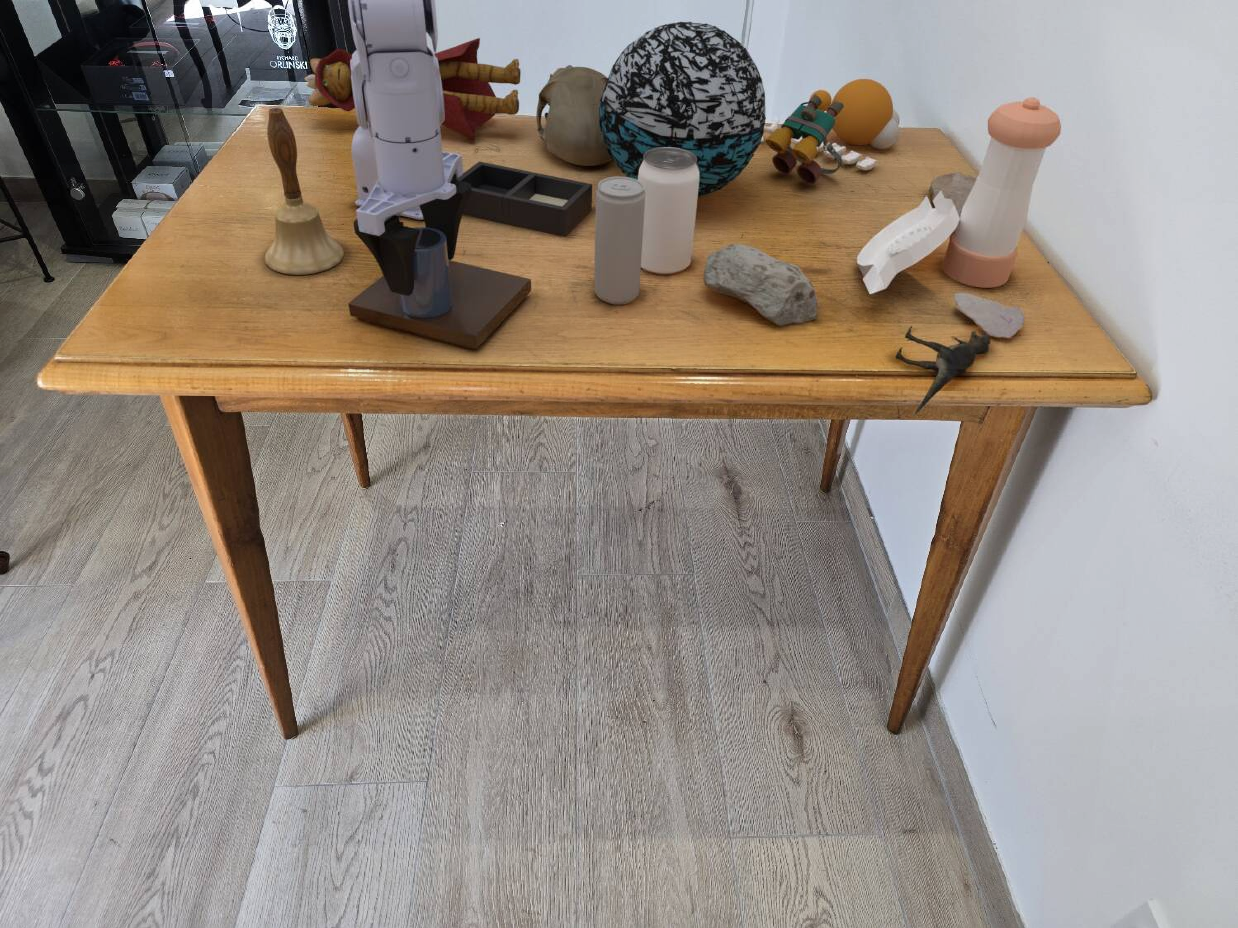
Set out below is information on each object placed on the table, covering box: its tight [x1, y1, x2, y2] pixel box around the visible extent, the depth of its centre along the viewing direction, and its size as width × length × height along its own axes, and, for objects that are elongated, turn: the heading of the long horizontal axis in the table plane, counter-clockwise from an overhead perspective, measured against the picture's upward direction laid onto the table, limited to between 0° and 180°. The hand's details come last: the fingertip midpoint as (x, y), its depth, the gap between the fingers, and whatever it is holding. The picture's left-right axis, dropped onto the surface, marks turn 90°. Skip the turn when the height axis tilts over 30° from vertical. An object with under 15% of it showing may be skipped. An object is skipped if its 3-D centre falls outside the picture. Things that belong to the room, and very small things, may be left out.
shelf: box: [347, 259, 532, 351], centre depth 89 cm, size 14×12×2 cm
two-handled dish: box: [856, 190, 960, 295], centre depth 98 cm, size 10×25×2 cm
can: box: [638, 147, 699, 276], centre depth 95 cm, size 6×6×12 cm
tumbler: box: [399, 226, 452, 318], centre depth 84 cm, size 5×5×7 cm
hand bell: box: [264, 107, 345, 276], centre depth 92 cm, size 8×8×16 cm
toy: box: [799, 78, 900, 150], centre depth 127 cm, size 9×10×15 cm
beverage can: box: [593, 176, 645, 306], centre depth 89 cm, size 5×5×12 cm
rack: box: [457, 161, 593, 237], centre depth 107 cm, size 15×8×3 cm, turn 69°
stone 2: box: [953, 292, 1026, 339], centre depth 91 cm, size 6×8×2 cm
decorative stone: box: [703, 243, 818, 327], centre depth 92 cm, size 12×11×5 cm
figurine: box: [304, 37, 522, 141], centre depth 125 cm, size 16×13×30 cm
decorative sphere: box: [599, 21, 767, 198], centre depth 107 cm, size 20×20×20 cm
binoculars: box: [765, 94, 844, 186], centre depth 116 cm, size 9×9×10 cm
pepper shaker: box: [941, 97, 1062, 289], centre depth 94 cm, size 7×7×19 cm
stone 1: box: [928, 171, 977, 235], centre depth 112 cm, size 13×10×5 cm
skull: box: [535, 64, 613, 167], centre depth 120 cm, size 12×18×12 cm, turn 15°
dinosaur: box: [895, 325, 992, 416], centre depth 83 cm, size 4×20×7 cm
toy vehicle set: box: [792, 136, 878, 171], centre depth 124 cm, size 12×4×2 cm, turn 49°
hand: (423, 274), depth 84 cm, fingers open, 7 cm apart
